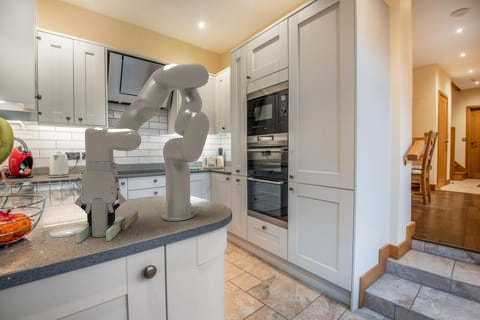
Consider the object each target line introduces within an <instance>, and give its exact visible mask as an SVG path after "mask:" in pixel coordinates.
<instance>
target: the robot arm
mask: <svg viewBox="0 0 480 320" xmlns="http://www.w3.org/2000/svg"><path fill="white" fill-rule="evenodd" d="M209 74H210V73H209V71H208V69H207V67H205V66H204V65H203V64H201V63H196V62H195V63H194V62H193V63H191V62H190V63H171V64H165V65H164V66H162V67H160V68H158V69H156V70H155V71H154V72H152V74H151V75H150V76H149V77H148V79H147V81H145V84H144V85H143V87H142V88H141V90H140V91H139V93H138V94H137V96H136V97H135V98H134V100H133V101H132V102H131V103H130V104H129V106H128V107H127V109H125V111H124V112H123V113H122V114H121V116H120V117H119V118H118V120H117V121H116V122H115V124H114V126H113V127H112V128H109V127H108V128H107V127H99V126H98V127H95V126H93V127H87V128H85V130H84V148H85V149H84V150H85V153H84V154H85V171H84V172H83V175H82V179H81V186H80V195H79V196H78V198H77V199H76V200H75V201H74V204H75V205H76V206H78V207H79V208H80V209H82V210H83V211H84V213H85V214H86V219H87V220H86V222H87V223H86V224H88V223H89V226H92V209H91V204H92V201H93V199H103V200H104V202H105V203H106V204H107V206H108V209H109V213H108V225H112V224H113V223H114V221H115V217H116V211H117V209H118V208H120V207H121V206H122V205H123V204H125V203H126V202H127V199H126V197H124V195H123V194H122V193H121V187H120V186H121V185H120V179H119V175H118V171H117V170H115V169H116V168H119V166H120V165H119V163H116V162H115V160H114V159H115V158H114V151H117V152H132V151H135V150H137V149H138V148H139V147H140V146H141V144H142V137H141V134H140V133H139V132H138V131H139V129H140V128H141V127H143V125H144V124H146V123H147V122H148V121H150V120H151V119H152V118H154V117H155V116H156V115H158V113H159V112H160V110H161V108H162V106H163V104H164V103H165V102H166V100H167V98H168V97H169V94H171V92H172V91H175V90H178V92H179V94H180V96H181V102H180V106H179V110H178V112H177V115H176V117H175V120H174V125H173V129H174V132H175V133H176V134H177V135H178V136H180V137H173V138H170V139H168V140H167V141H166V142H164V145H163V149H162V156H163V157H162V158H163V161H164V169H165V171H164V172H165V212H164V213H162V214H161V218H162V220H165V221H169V222H178V221H186V220H189V219H192V218H194V216H195V213H199V212H200V213H201V212H203V211H202V209H203V208H202V206H199V205H198V206H197V205H196V206H193V205H192V203H191V170H190V165H189V164H190V163H195V162H196V161H198V160H199V159H200V158H201V156H202V154H203V151H204V148H205V145H206V141H207V138H208V134H209V131H210V121H209V117H208V116H207V114H206V113H205V112H204V111H202V107H203V100H202V97H201V95H200V93H199V90H198V88H202V87H205V86H206V85H207V83H209V79H210V75H209ZM116 201H118V202H117V203H116Z"/></svg>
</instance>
